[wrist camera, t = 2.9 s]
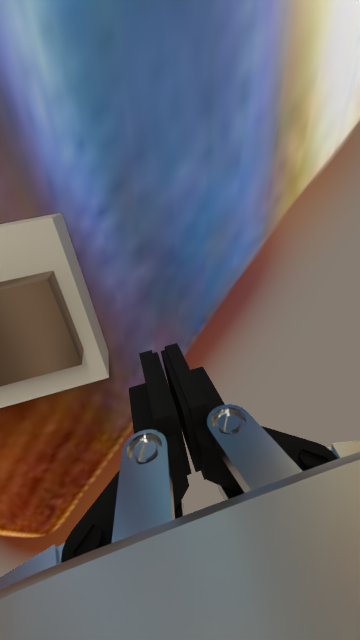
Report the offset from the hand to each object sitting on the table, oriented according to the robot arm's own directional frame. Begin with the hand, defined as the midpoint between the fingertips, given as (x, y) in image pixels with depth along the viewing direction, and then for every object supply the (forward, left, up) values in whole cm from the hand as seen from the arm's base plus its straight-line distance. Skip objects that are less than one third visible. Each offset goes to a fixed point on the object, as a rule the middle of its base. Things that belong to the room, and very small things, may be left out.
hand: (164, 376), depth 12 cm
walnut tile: (+9, -1, -9) cm, 13 cm away
